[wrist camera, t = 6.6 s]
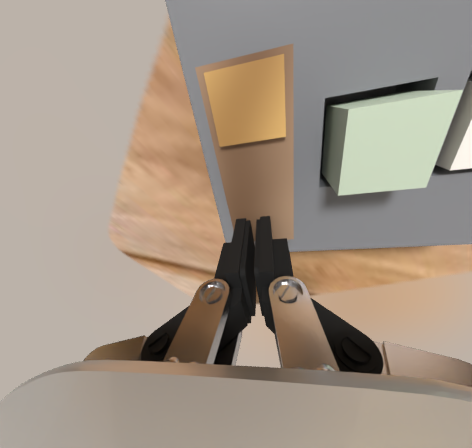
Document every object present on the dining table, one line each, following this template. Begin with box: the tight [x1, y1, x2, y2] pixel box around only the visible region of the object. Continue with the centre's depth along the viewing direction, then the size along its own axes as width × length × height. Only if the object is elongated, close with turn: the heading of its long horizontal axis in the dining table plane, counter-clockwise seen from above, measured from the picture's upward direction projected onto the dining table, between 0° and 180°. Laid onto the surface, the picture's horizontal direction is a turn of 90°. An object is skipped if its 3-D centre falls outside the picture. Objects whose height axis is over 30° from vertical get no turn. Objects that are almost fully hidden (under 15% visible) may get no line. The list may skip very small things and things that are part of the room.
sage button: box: [322, 90, 463, 196], centre depth 9 cm, size 4×4×3 cm
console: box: [165, 0, 472, 252], centre depth 11 cm, size 17×14×5 cm
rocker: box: [195, 44, 294, 241], centre depth 9 cm, size 3×8×1 cm, turn 10°
